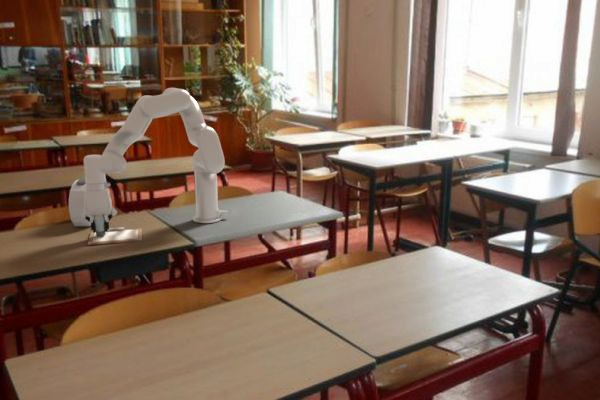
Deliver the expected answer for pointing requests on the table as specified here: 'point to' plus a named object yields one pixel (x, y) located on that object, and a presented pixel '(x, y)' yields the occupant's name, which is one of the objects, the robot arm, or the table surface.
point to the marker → (99, 225)
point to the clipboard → (116, 236)
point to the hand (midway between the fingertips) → (100, 230)
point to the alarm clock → (78, 203)
